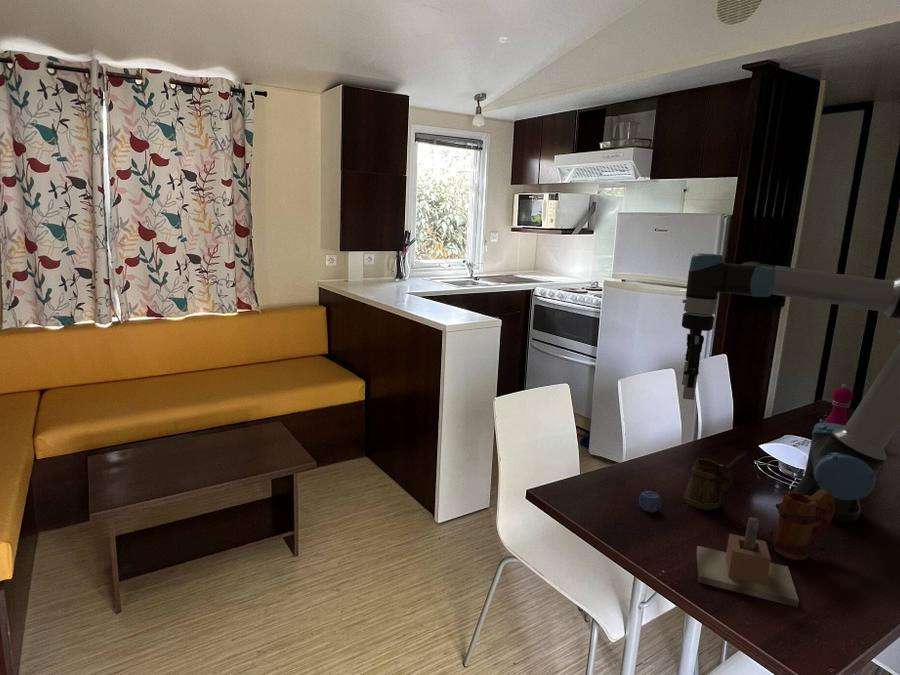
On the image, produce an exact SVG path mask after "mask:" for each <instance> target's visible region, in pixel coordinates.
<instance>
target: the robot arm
mask: <svg viewBox="0 0 900 675" xmlns="http://www.w3.org/2000/svg"><path fill="white" fill-rule="evenodd" d="M719 293H722V294H732V295H742V296H748V297H749V296H750V297H754V298H757V297H761V298H768V297H771V296H772V295H773V296H774V295H775V296H782V297H789V298H794V299H798V300H799V299H800V300H807V301H811V302H819V303H825V304H830V305H838V306H843V307H845V306H846V307H851V308H856V309H864V310H868V311H869V310H871V311H876V312H881V313H884V315H885V316H886V317H887V318H894V319H898V320H900V277H898V278H895V279H893V280H886V279H881V278H880V279H878V278H871V277H866V276H865V277H864V276H855V275H849V274H840V273H834V272H826V271H820V270H812V269H805V268H798V267H797V268H795V267H789V266H783V265H782V266H781V265H773V264H769V263H768V264H766V263H760V262H759V261H758V262H757V261H746V262H743V263H740V264H739V263H737V264H736V263H727V262H724V256H723V255H722V254H717V253H716V254H715V253H701V252H700V253H699V252H698V253H697V252H696V253H694V254H693V255H692V256H691V259H690V263H689V268H688V274H687V283H686V290H685V299H682V301H681V302H682V304H684V307H683V311H684V313H682V320H681V327H682V328H684V329H687V330H689V333H687V335H686V353H685V354H684V355H685V358H684V359H685V361H684V366H683V367H684V368H683V373H682V379H681V380H682V382H681V385H682V386H683V391H682V392H683V394H682V399H683V400H689V401H690V400H691V401H695V396H696V395H695V394H696V388H697V382H698V376H699V374H700V372H699V369H700V368H699V367H700V361H701V354H702V350H703V344H704V341H705V336H704V335H702V334H703V333H702V332H709V331H712V330H713V328H714V322H715V317H714V315H715V314H716V311H717V306H718V305H717V304H718V303H717V302H718V296H719ZM897 331H898V334H899V335H900V327H899V328H898V330H897ZM848 419H849V420H847V421H848V422H847V424H846V425H840V424H834V423H825V422H817V423H816V424H815V425H814V426H813V430H812V432H811V434H812V437H811V440H810V441H811V442H810V445H809V451H808V456H807V462H806V467H805V471H804V475H803V477H802V478H801V479H800V480H799V482H798V484H797V485H796V487H795V488H794V490H793V492H792V493H794V492H799V493H802V494H803V495H805V496H806V495H808V496H812V495H813V494H815V493H816V492H817V491H818V490H820V489H823V490H825V491H827V492H829V493H830V494H832V496H833V498H834V501H835V512H834V515H833V518H832V520H831V521H833V522H839V523H850V522H852V523H853V522H856V521H857V520H859V518H860V514H861V504H860V499H863V498H865V497H867V496H868V495H870V493H872V492H873V490H874V489H875V486H876V481H877V476H876V475H877V473H878V472H879V470H880V468H881V467H882V466H883V465H884V463H885V461H886V460H887V458H888V456H887V454H886V450H885V448H886V446H887V444H888V443H889V441H890V440H891V438H892V437H893V435H894V434H896V432H897V430H898V429H899V427H900V342H899V343H898V345H897V346H896V348H895V349H894V350H893V352H892V354H891V355H890V357H889V358H888V360H887V361H886V363H885V365H883V367H882V369H881V370H880V372H879V373H878V375H877V377H876V378H875V379H874V381H873V383H872V384H871V386H870V387H869V389H868V391H867V392H866V393H865V395H864V396H863V398H862V399H861V401H860V402H859V404H858V406H857V407H856V409H855V410H854V412H853V413H852V415H851V416H850V418H848ZM818 509H819V507H816V511H817V512H818Z"/></svg>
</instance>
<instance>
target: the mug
mask: <svg viewBox="0 0 900 675" xmlns="http://www.w3.org/2000/svg"><path fill="white" fill-rule="evenodd" d="M793 492H794V491H793ZM793 492H791V491H787V492H786V493H784V495H783V497H782V502H780V503H776V504H775V508H776V509H777V512H778V514H779V516H778V523H777V527H776V530H774V531H770V532H769V536H770V538H771V540H772V543H773V549H774V551H775V552H776V553H777V554H779V555H781V556H782V557H784V558H787V559H789V560H792V561H804V560H806V559H807V558H808V557H809V555H810V554H811V553H812V552H815V551H816V550H817V547H816V545H815V544H814V540H813V539H812V537H813V536H815V537H816V538H820V537H822V535H823V534H824V533H825V532H826V530H827V529H828V528H829V526H830V524H831V523H832V521H833V520H832V518H833V515H834V512H835V501H834V498H833V496H832V494H830V493H829V492H827V491H825V490H823V489H820V490H818V491H817V492H816V493H815V494H813V495H812V496H808V495H806V496H805V495H803V494H802V493H799V492H794V493H793ZM816 507H819V509H818V512H817V511H816Z"/></svg>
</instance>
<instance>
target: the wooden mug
mask: <svg viewBox="0 0 900 675" xmlns="http://www.w3.org/2000/svg"><path fill="white" fill-rule="evenodd" d="M747 453H748V452H747V450H743V451H741V452H740V453H739V454H737V455H736V456H734V457H733V458H731V459H730V460H728V461H727V462H726V463H724V464H720V463H718V462H716V461H714V460H712V459H706V458H697V459H695V461H694V464H693V465H692V467H691V474H690V478H689V480H688V484H687V487H686V490H684V493H683V497H682V498H683V501H684V502H685V503H686V504H687V505H690V506H691V507H693V508H697V509H701V510H704V511H705V510H706V511H713V510H717V509H719V508H720V507H721V504H722V499H721V496H722V495H723V493H724V492H725V491H727V490H728V489H729V488H730V486H731V485H732V484H733V480H734V475H733V471H732V468H731V467H732V466H733V465H734V464H735V463H736V462H737V461H739V460H740V459H742V458H743V457H745V455H746V454H747ZM722 477H724V482H722V483H720V479H721V478H722Z"/></svg>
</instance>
